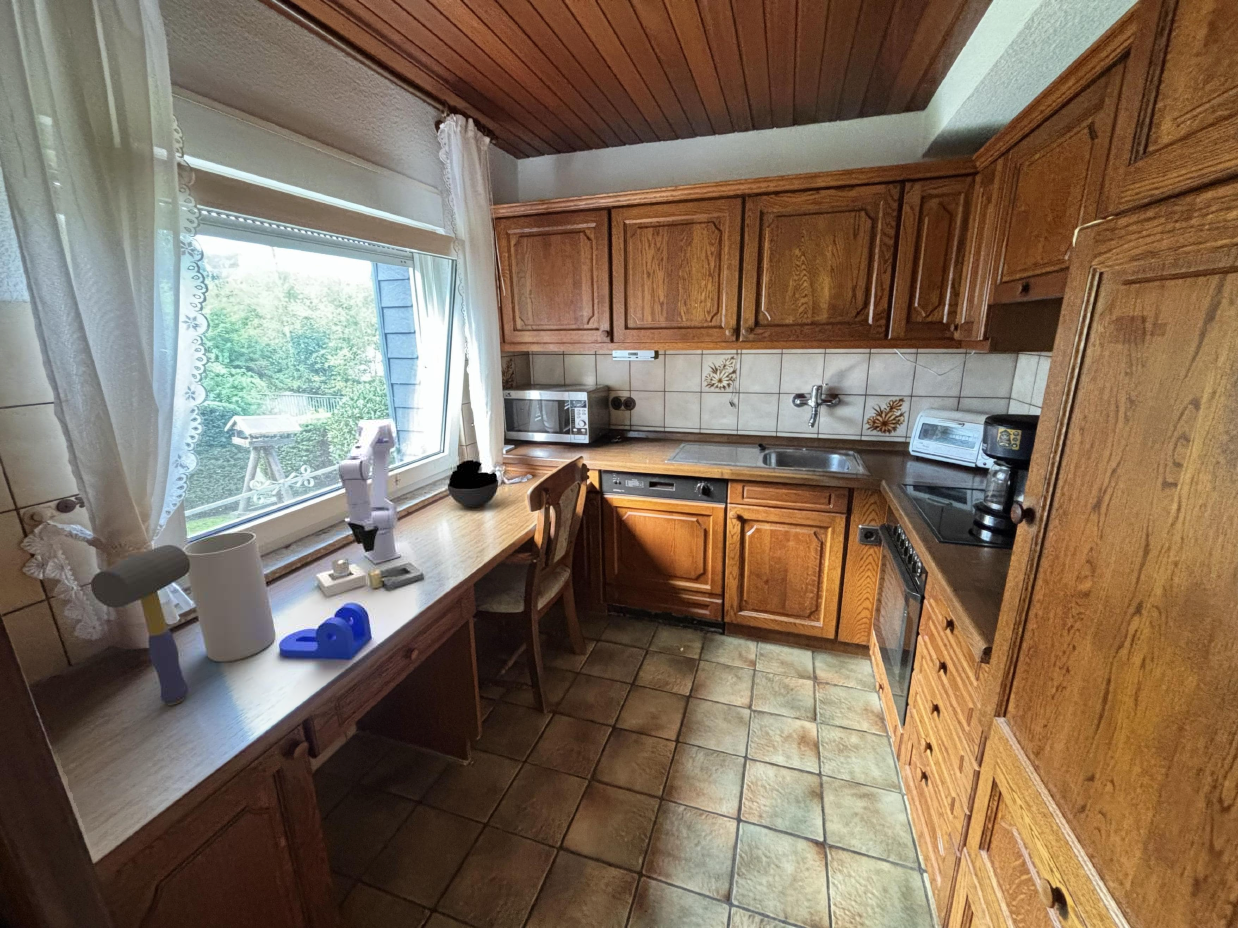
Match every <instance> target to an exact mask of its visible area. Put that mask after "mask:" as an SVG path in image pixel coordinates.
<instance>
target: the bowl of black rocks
mask: <svg viewBox="0 0 1238 928" xmlns="http://www.w3.org/2000/svg"><path fill="white" fill-rule="evenodd" d="M482 464H483V463H482V462H480V461H478V460H473V459H472V460H471V459H467V460H463V461H462V462H461V463H459V464H457V465H456V469H455V470H453V471H452V472H451V475H450V477H449V479H448V481H449V483H448V484H447V490H448V493H449V495H450V496H451V498H452V499H453V500H454V501H455V502H456V503H457V504H459V505H461V506H463V507H467V508H478V507H481V506H485V505H486V504H488V503H489V502H490V501H492V499H493V498H494V497H495V496H496V493H497V492H498V489H499V480H498V475H497V474H496V472H491V473H489V472H487V471H486V472H483V471H482V472H479V471H480V467H481V466H482Z"/></svg>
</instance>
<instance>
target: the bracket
mask: <svg viewBox="0 0 1238 928" xmlns="http://www.w3.org/2000/svg"><path fill="white" fill-rule="evenodd" d="M372 635H373V634H372V631H371V624H370V617H369V613H368V611H367V610H366V609H365V607H363V605H361V604H359V603H357V602H347V603H344V604H343V605H342V606H341V607H340V608H338V609H337V611H336V612H335V613H334V615H333V616H332V617H329V618H327V619H326V620H324V621H323V622H322V623H320V624H319V625H318V627H317V628H305V629H302V630H300V629H299V630H298V631H293V632H292V633H290V634H288V635H286V636H284V638H282V639H281V640H280V641H279V643H278V647H279V653H280V655H281V657H283V658H287V659H288V658H290V659H311V660H312V659H314V660H315V659H316V660H342V661H344V660H345V661H346V660H347V661H351V660H352V659H353V658H355V656H356V655H357V654H358V653H359V652H360V651H361V650H362V649H363V648H364V647H365V646H366V645H367V644H368V643H369V641H370V640H371V639H373V638H372Z"/></svg>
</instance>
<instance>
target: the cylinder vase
mask: <svg viewBox="0 0 1238 928" xmlns="http://www.w3.org/2000/svg"><path fill="white" fill-rule="evenodd" d="M182 550H183V551H184V552H185V553H186V554H187V556H188V558H189V560H190V569H189V571H188V573H187V576H188V580H189V585H190V589H191V593H192V598H193V601H194V606H195V610H196V614H197V619H198V623H199V627H200V631H201V636H202V638H203V643H204V646H205V647H204V648H205V652H206V656H207V657H208V659H210V660H211V661H215V662H219V663H221V662H222V663H223V662H226V663H227V662H234V661H238V660H242V659H246V658H248V657H251V656H254V655H256V654H258V653H260V652H262V651H263V650H264V649H266V648H268V647H269V646H270V645H271V644H272V643H273V641H274V640H275V638H276V629H275V623H274V618H273V613H272V609H271V608H272V607H271V604H270V599H269V595H268V594H269V593H268V589H267V583H266V580H265V574H264V570H263V564H262V559H261V555H260V549H259V544H258V539H257V535H256V534H255V533H254V532H251V531H235V532H233V531H232V532H226V533H220V534H216V535H211V536H207V537H204V538H201V539H198V540H195V541H193V542H190V543H189V544H186V546H184V547H183V548H182Z"/></svg>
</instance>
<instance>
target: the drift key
mask: <svg viewBox="0 0 1238 928" xmlns="http://www.w3.org/2000/svg"><path fill="white" fill-rule="evenodd" d="M380 571H381V570H378V569H377V568H376V569H373V570H370V571H368V572H367V574H368V581H369V586H370V587H371V588H372V589H373V590H374V589H377V588H381V587H384V586H383V582H382V580H383V579H386V578H389V576H388V577H385V578H381V572H380Z"/></svg>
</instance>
